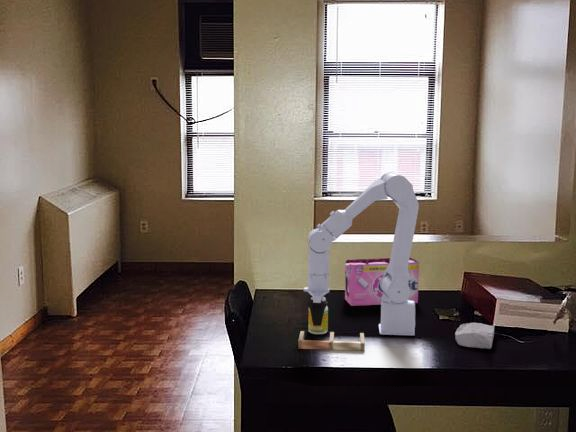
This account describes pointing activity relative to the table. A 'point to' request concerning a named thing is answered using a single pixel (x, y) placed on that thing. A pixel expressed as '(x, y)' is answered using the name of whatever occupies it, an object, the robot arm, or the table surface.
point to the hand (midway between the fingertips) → (318, 320)
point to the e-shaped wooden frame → (331, 343)
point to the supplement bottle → (324, 325)
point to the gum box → (373, 280)
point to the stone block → (475, 335)
